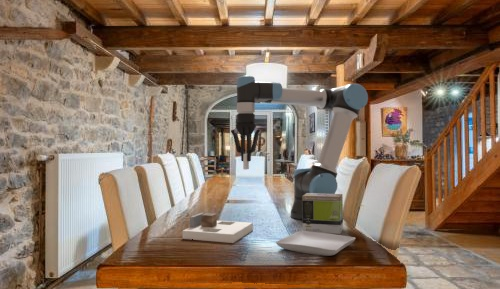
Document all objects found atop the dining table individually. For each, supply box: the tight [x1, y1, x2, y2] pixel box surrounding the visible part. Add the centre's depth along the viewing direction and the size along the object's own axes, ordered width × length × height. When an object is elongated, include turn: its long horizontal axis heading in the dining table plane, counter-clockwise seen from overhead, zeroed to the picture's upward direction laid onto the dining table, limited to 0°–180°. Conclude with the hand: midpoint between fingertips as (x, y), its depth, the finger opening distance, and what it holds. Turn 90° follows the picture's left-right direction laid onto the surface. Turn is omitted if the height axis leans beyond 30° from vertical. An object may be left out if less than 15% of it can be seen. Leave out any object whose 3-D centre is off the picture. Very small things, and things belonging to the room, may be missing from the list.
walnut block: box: [201, 212, 218, 227], centre depth 159 cm, size 4×4×4 cm
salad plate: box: [275, 230, 356, 257], centre depth 138 cm, size 21×21×3 cm
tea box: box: [301, 193, 344, 235], centre depth 164 cm, size 15×10×15 cm
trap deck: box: [182, 212, 254, 244], centre depth 158 cm, size 20×22×7 cm
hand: (246, 169), depth 172 cm, fingers closed
